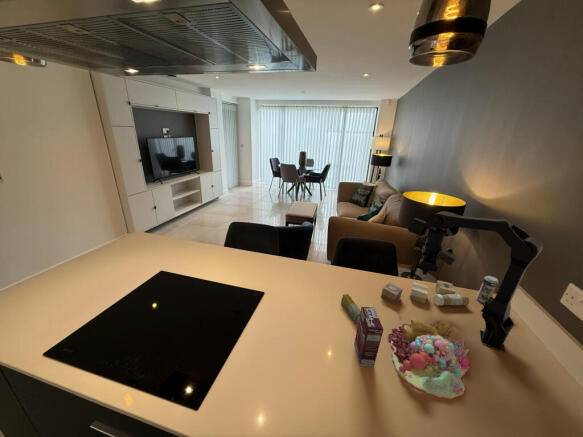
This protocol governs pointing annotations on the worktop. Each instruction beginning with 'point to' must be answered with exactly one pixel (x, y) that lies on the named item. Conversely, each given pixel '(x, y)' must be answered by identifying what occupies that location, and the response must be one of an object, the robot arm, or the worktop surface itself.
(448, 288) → the oak block marked
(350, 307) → the medication box
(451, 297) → the granule seasoning jar
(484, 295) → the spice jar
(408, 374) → the pastel sphere sculpture
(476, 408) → the worktop surface
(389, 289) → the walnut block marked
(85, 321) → the worktop surface
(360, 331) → the supplement box
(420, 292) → the plain birch block
